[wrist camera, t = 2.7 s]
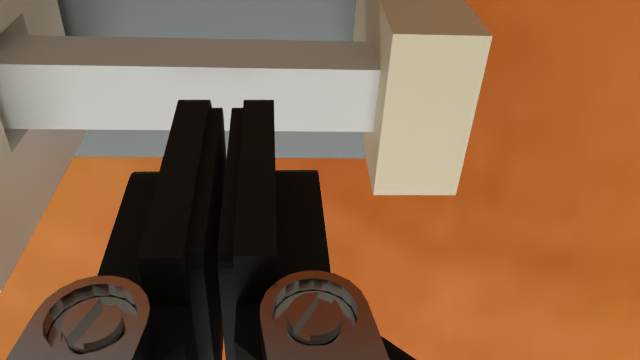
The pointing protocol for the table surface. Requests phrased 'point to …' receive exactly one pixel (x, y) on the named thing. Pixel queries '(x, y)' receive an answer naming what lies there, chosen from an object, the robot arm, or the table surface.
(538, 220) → the table surface
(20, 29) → the white block
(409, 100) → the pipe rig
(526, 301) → the table surface
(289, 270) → the robot arm
